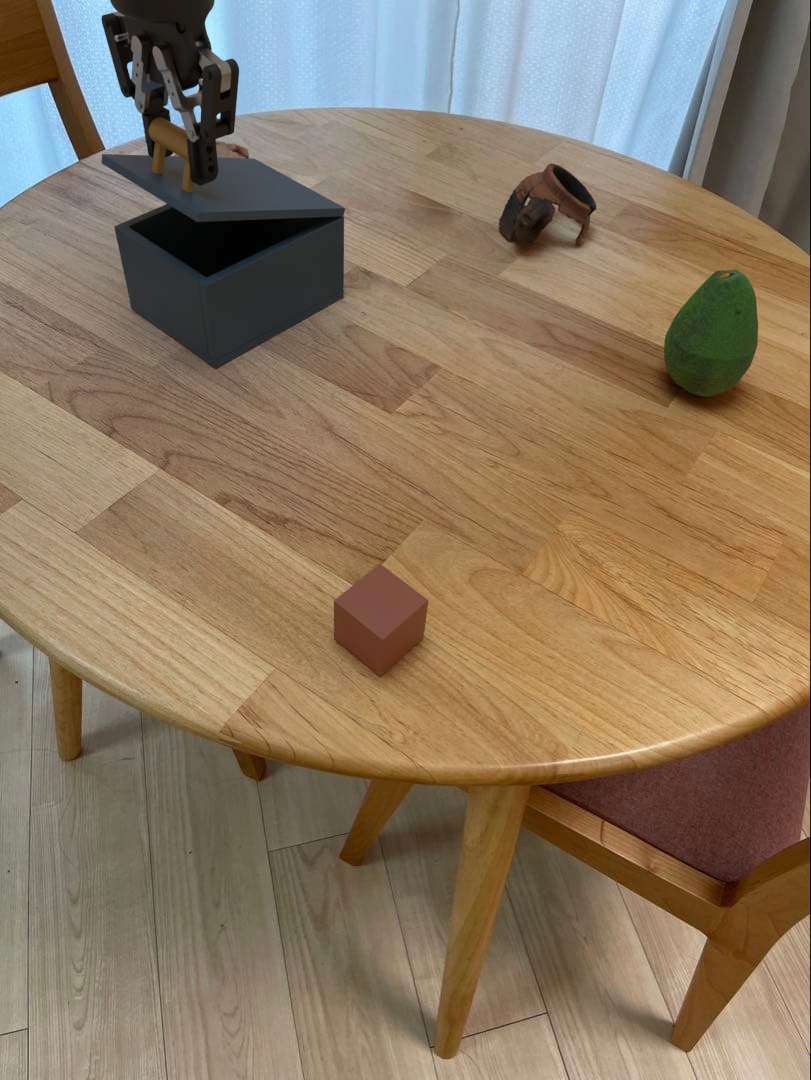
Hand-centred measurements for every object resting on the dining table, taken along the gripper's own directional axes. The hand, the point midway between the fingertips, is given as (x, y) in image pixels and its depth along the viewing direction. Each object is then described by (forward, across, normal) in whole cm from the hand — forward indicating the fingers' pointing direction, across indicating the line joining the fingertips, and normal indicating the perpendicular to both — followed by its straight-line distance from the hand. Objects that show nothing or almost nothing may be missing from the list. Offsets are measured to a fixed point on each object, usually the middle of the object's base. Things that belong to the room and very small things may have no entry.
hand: (183, 167), depth 74 cm
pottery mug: (+15, +13, +38) cm, 43 cm away
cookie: (+15, -21, +19) cm, 32 cm away
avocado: (+15, +39, +27) cm, 50 cm away
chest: (+15, 0, +5) cm, 16 cm away
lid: (+4, 0, +5) cm, 6 cm away
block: (+16, +38, -15) cm, 43 cm away
